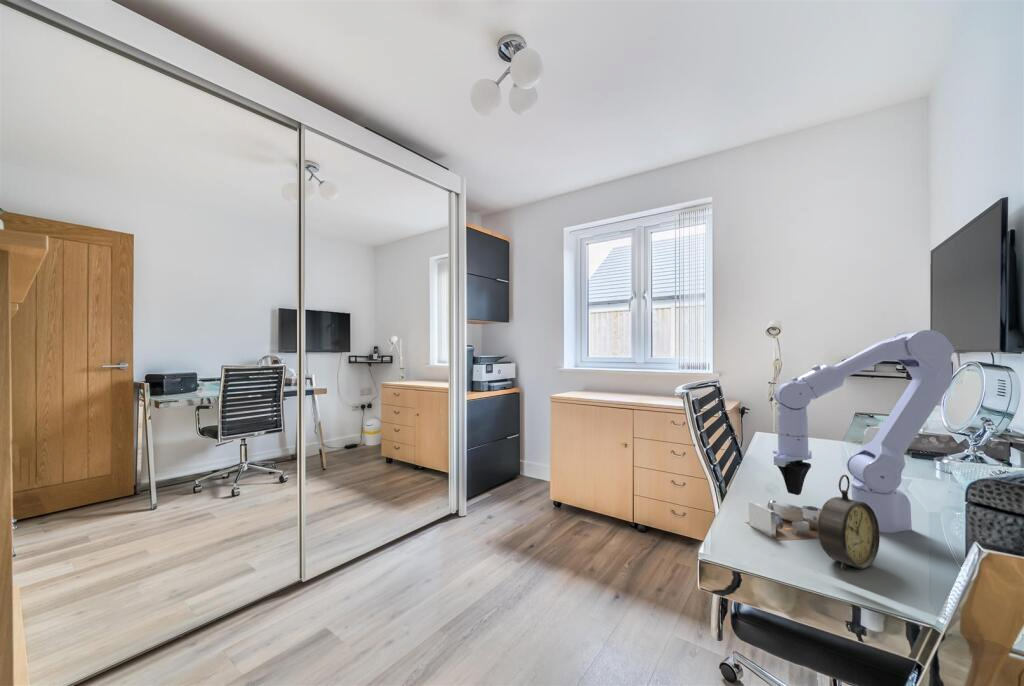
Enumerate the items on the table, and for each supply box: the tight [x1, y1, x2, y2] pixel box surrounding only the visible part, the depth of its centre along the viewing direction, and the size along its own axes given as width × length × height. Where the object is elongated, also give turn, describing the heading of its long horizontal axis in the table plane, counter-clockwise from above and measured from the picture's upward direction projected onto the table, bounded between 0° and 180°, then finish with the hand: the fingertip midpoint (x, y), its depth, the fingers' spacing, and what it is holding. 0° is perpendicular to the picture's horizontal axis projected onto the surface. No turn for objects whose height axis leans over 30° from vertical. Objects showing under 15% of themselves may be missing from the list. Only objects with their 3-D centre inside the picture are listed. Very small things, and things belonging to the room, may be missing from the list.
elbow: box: [766, 499, 822, 530], centre depth 86 cm, size 10×4×4 cm, turn 33°
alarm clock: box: [818, 474, 880, 571], centre depth 69 cm, size 11×5×16 cm, turn 114°
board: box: [744, 519, 819, 542], centre depth 82 cm, size 17×9×1 cm, turn 98°
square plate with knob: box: [748, 500, 809, 538], centre depth 82 cm, size 9×6×5 cm, turn 98°
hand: (794, 493), depth 90 cm, fingers closed
